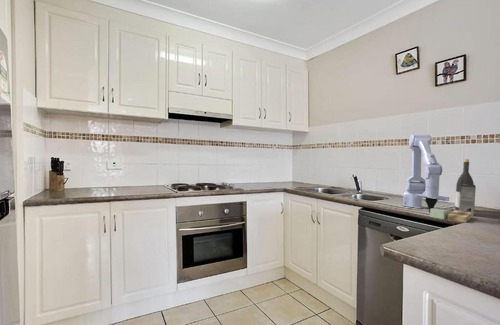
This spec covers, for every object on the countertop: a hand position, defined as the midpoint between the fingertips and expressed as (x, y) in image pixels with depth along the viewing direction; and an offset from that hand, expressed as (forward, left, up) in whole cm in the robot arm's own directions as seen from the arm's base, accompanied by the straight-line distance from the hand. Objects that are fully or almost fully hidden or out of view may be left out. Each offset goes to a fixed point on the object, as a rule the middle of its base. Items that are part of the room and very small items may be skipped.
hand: (430, 212), depth 135 cm
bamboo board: (+11, +4, -1) cm, 12 cm away
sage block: (+4, 0, -1) cm, 5 cm away
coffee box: (+11, +21, -2) cm, 24 cm away
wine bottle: (+8, +34, -1) cm, 35 cm away
